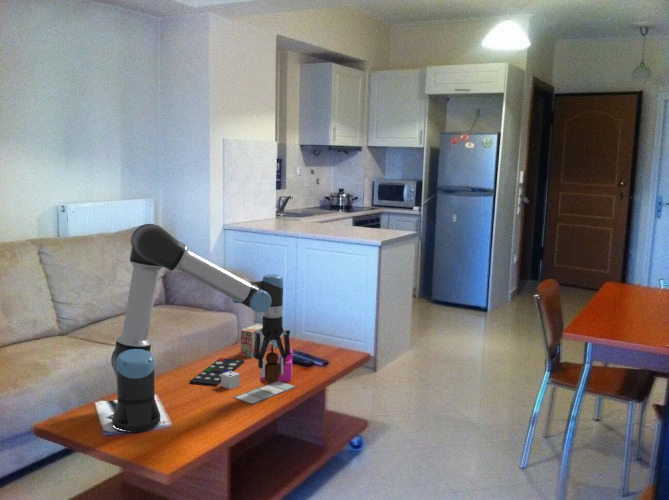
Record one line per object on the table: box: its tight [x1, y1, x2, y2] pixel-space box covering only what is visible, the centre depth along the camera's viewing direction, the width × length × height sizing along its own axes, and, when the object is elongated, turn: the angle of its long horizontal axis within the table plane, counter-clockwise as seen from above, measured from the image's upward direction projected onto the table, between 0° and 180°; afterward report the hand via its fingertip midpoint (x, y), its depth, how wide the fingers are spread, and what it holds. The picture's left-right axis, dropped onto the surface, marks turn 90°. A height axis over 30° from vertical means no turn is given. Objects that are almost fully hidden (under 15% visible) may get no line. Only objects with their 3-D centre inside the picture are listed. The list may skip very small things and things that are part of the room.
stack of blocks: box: [240, 323, 278, 359], centre depth 287 cm, size 21×6×12 cm, turn 150°
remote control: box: [189, 357, 245, 387], centre depth 257 cm, size 11×30×2 cm, turn 168°
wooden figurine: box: [264, 345, 280, 384], centre depth 238 cm, size 7×6×15 cm
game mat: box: [232, 381, 297, 406], centre depth 237 cm, size 24×10×1 cm, turn 142°
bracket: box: [260, 348, 294, 382], centre depth 254 cm, size 12×10×10 cm
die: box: [220, 371, 241, 390], centre depth 242 cm, size 5×5×5 cm
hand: (271, 374), depth 238 cm, fingers closed on wooden figurine, 7 cm apart
